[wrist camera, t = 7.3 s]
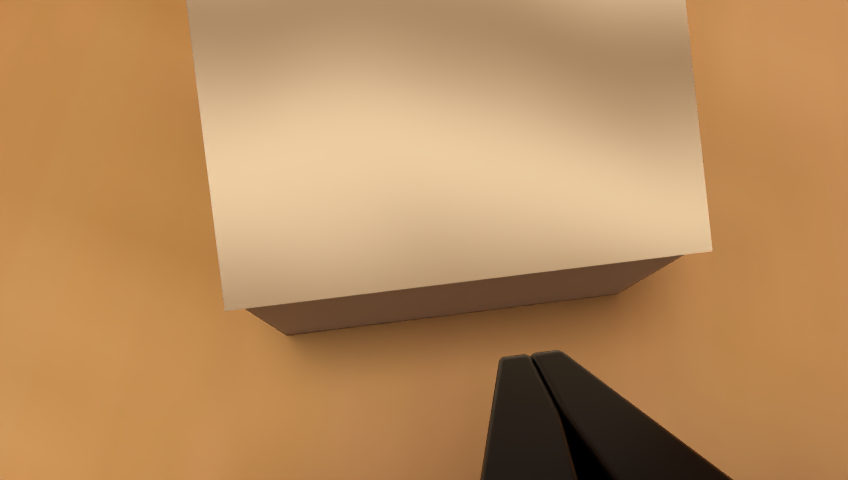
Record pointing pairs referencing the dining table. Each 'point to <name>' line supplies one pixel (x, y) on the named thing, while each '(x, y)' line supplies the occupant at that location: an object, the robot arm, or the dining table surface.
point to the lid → (443, 140)
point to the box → (457, 297)
